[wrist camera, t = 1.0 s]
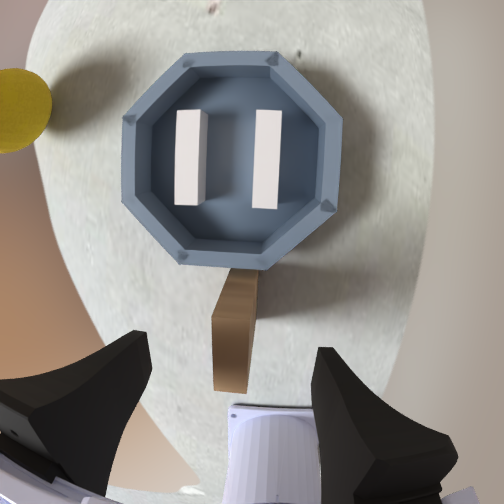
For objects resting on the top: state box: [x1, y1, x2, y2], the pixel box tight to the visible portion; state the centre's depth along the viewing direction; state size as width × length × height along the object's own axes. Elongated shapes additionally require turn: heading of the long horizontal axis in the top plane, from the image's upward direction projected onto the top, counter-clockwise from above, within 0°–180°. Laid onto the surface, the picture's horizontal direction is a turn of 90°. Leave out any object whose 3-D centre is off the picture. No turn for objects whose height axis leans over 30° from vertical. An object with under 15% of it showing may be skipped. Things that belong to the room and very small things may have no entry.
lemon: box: [0, 68, 52, 153], centre depth 12 cm, size 6×6×8 cm
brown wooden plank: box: [212, 268, 259, 394], centre depth 15 cm, size 4×2×7 cm, turn 177°
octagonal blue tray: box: [121, 51, 344, 271], centre depth 15 cm, size 11×11×3 cm
